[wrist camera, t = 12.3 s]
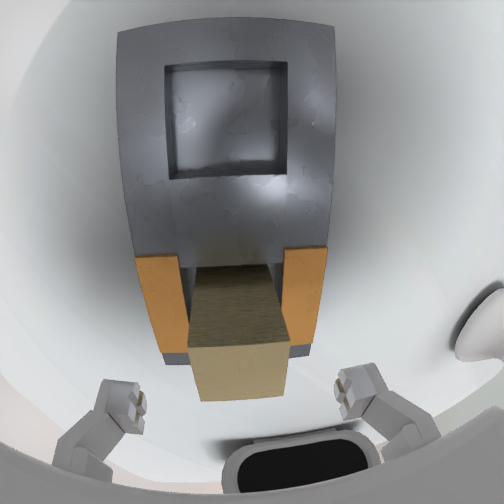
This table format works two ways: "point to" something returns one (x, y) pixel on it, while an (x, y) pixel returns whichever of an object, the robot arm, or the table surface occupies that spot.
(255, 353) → the brass block
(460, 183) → the table surface
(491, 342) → the flower in vase
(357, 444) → the alarm clock
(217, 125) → the rail
